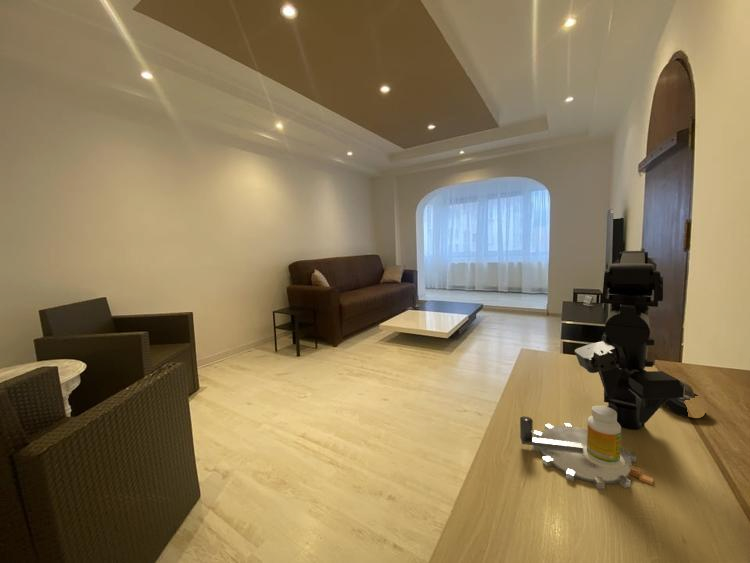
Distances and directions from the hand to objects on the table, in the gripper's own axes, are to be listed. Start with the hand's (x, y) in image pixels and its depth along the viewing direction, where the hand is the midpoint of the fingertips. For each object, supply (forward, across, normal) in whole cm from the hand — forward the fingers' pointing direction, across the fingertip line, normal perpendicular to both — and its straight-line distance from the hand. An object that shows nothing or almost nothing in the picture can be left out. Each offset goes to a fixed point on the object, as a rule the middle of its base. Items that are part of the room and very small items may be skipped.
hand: (624, 408), depth 60 cm
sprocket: (+11, -3, -7) cm, 14 cm away
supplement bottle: (+10, 0, -4) cm, 11 cm away
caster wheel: (+14, -23, +28) cm, 39 cm away
